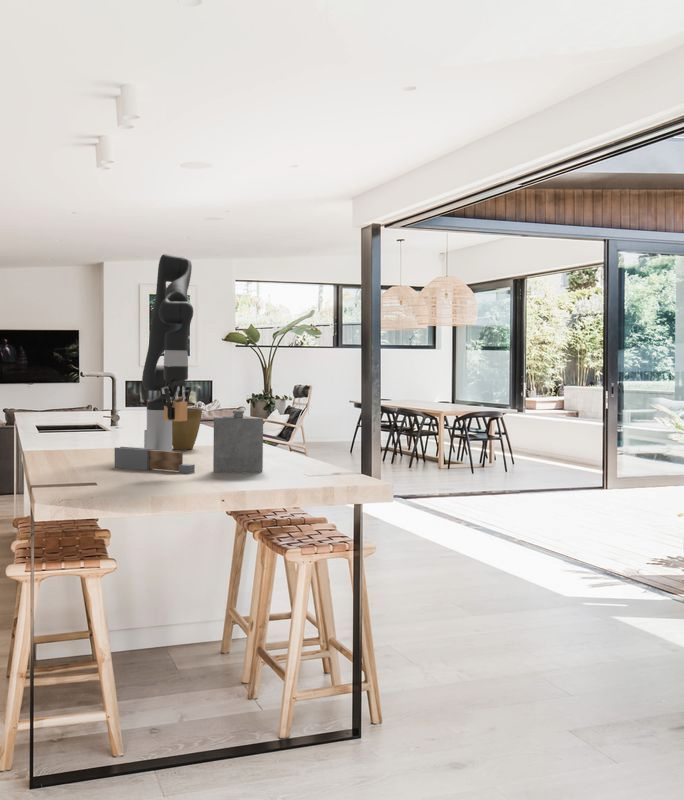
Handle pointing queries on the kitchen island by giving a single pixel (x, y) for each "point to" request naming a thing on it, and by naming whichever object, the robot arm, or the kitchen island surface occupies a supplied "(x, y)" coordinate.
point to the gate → (165, 460)
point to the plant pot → (186, 430)
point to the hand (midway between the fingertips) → (175, 418)
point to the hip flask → (238, 444)
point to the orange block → (177, 411)
